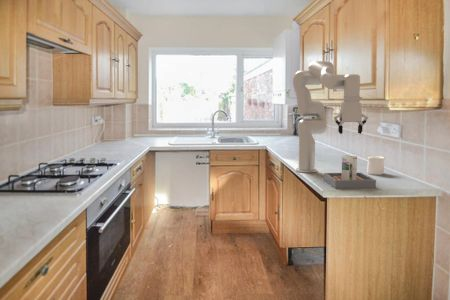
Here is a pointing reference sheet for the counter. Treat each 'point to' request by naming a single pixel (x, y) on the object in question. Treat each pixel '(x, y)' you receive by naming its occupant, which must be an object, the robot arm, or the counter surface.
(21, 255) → the counter surface
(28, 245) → the counter surface
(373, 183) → the walled box
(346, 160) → the syrup box
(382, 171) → the cup
